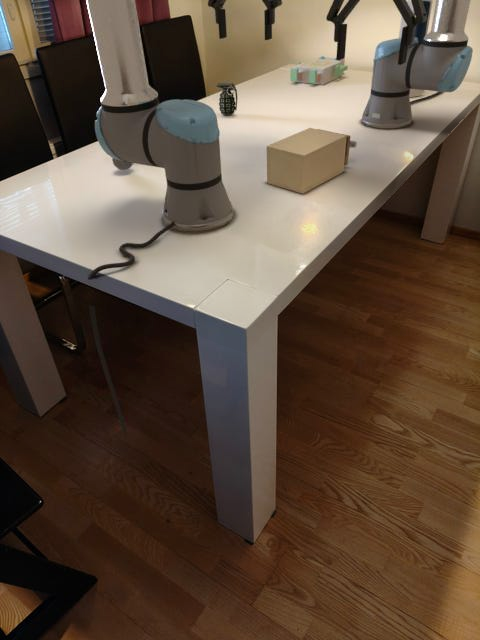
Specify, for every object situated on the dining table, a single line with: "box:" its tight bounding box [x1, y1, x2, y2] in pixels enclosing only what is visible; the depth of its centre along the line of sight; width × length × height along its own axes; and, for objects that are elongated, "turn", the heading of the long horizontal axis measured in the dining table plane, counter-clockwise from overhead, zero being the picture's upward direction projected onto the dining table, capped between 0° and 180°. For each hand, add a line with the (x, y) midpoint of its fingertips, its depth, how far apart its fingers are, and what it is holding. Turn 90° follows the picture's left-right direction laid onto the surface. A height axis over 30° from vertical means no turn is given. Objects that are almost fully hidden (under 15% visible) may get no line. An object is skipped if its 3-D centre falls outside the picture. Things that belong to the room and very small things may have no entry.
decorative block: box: [290, 56, 349, 85], centre depth 205 cm, size 26×6×20 cm
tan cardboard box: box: [266, 127, 348, 195], centre depth 120 cm, size 17×11×9 cm, turn 137°
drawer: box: [317, 128, 358, 167], centre depth 123 cm, size 22×10×7 cm, turn 137°
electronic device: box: [398, 0, 433, 98], centre depth 170 cm, size 12×8×30 cm, turn 105°
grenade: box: [215, 82, 238, 117], centre depth 166 cm, size 7×6×10 cm
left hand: (245, 38), depth 129 cm, fingers open, 13 cm apart
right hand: (370, 61), depth 103 cm, fingers open, 13 cm apart
